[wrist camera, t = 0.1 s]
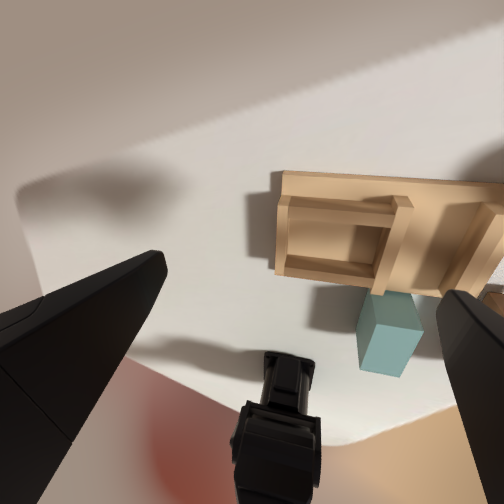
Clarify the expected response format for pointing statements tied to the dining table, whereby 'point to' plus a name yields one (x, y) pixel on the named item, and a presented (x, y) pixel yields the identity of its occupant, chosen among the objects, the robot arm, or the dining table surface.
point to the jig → (389, 232)
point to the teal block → (387, 332)
